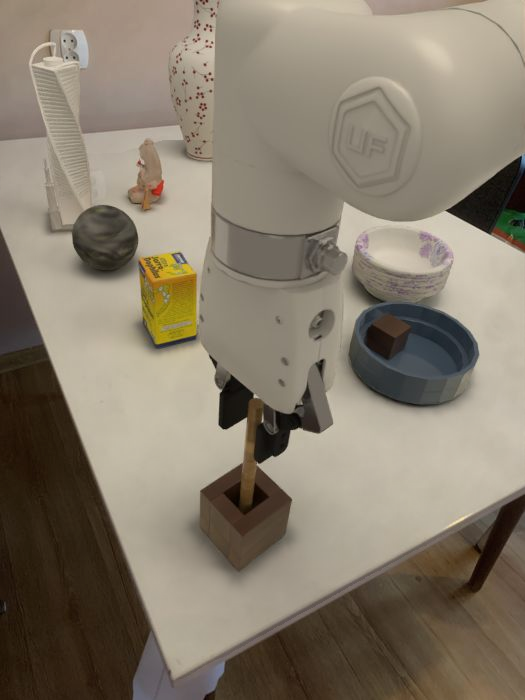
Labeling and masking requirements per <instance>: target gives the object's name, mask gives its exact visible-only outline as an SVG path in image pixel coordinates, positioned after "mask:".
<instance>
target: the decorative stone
mask: <svg viewBox="0 0 525 700" xmlns="http://www.w3.org/2000/svg"><path fill="white" fill-rule="evenodd" d="M71 239H72V245H73V249H74V251H75V252H76V254H77V256H78V257H79V259H81V261H83V263H85V264H87V265H88V266H89V267H92V268H94V269H96V270H100V271H112V270H113V271H114V270H117V269H120V268H122V267H124V266H126V265H127V264H128V263H129V262H130V261H131V260H132V259H133V258H134V256H135V254H136V252H137V250H138V246H139V233H138V230H137V227H136V224H135V222H134V220H133V218H131V216H129V215H128V214H127V213H126V212H125V211H124V210H122V209H120V208H119V207H116V206H113V205H110V204H97V205H92V207H91V208H88V209H87V210H85V211H84V212H82V213H81V214H80V215H79V217H78V218H77V220H76V221H75V223H74V226H73V229H72V231H71Z"/></svg>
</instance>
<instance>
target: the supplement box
mask: <svg viewBox="0 0 525 700" xmlns="http://www.w3.org/2000/svg"><path fill="white" fill-rule="evenodd" d="M137 263H138V274H139V287H140V298H141V299H140V300H141V314H142V325H143V326H144V327H145V329H146V331H147V333H148V334H149V337H150V338H151V340H152V342H153V345H154V347H155V348H156V349H157V350H158V349H162V348H165V347H170V346H173V345H178V344H181V343H186V342H190V341H193V340H197V302H198V301H197V298H198V297H197V295H198V294H197V293H198V290H197V289H198V284H197V283H198V273H197V272H196V271H195V270H194V269H193V268H192V267H191V265H190V264H189V261H187V259H186V257H185V255H184V254H183V253H182V252H181V251H180V250H177V251H173V252H167V253H162V254H156V255H149V256H144V257H143V256H142V257H139V258H138V259H137Z"/></svg>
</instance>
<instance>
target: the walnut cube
mask: <svg viewBox="0 0 525 700" xmlns="http://www.w3.org/2000/svg"><path fill="white" fill-rule="evenodd" d="M410 330H411V326H410V325H408V324H406V323H404V322H403V321H401V320H399V319H398V318H396V317H394V316H392V315H391V314H389V313H387V314H386V315H384V316H382V317H381V318H379V319H378V320H376V321H375V322H373V323H371V326H370V330H369V334H368V337H367V341H366V346H367V347H368V348H369V349H371V350H372V351H374V352H376V353H377V354H379V355H380V356H382V357H384V358H385V359H387V360H389V359H391V358H392V357H394V356H395V355H396V354H398V353H399V352H400V351H402V350H403V349H404V348H405V345H406V342H407V339H408V336H409V333H410Z"/></svg>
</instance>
